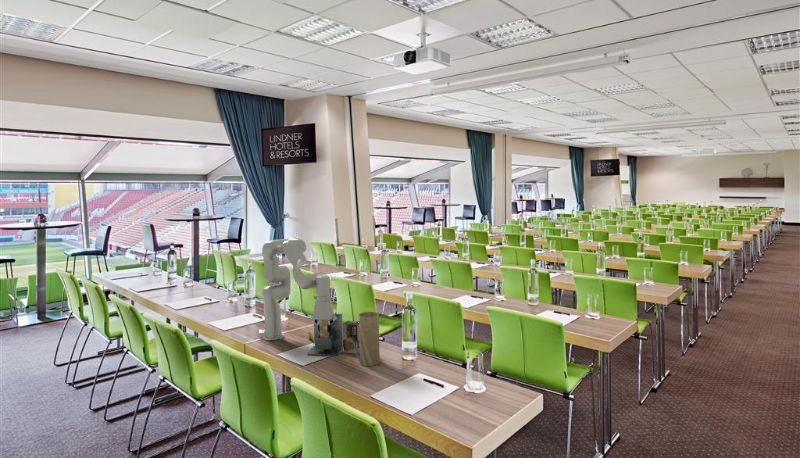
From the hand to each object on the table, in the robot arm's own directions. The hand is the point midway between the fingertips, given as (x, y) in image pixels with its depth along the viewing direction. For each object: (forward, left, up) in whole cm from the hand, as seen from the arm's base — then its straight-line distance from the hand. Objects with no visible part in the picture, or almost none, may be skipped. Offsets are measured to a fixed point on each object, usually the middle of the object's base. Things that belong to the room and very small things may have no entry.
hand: (324, 331), depth 259 cm
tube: (+27, -14, -12) cm, 33 cm away
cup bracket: (0, +2, -12) cm, 12 cm away
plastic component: (-5, +23, -12) cm, 27 cm away
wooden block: (0, 0, -4) cm, 4 cm away
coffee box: (+15, +2, -12) cm, 19 cm away
